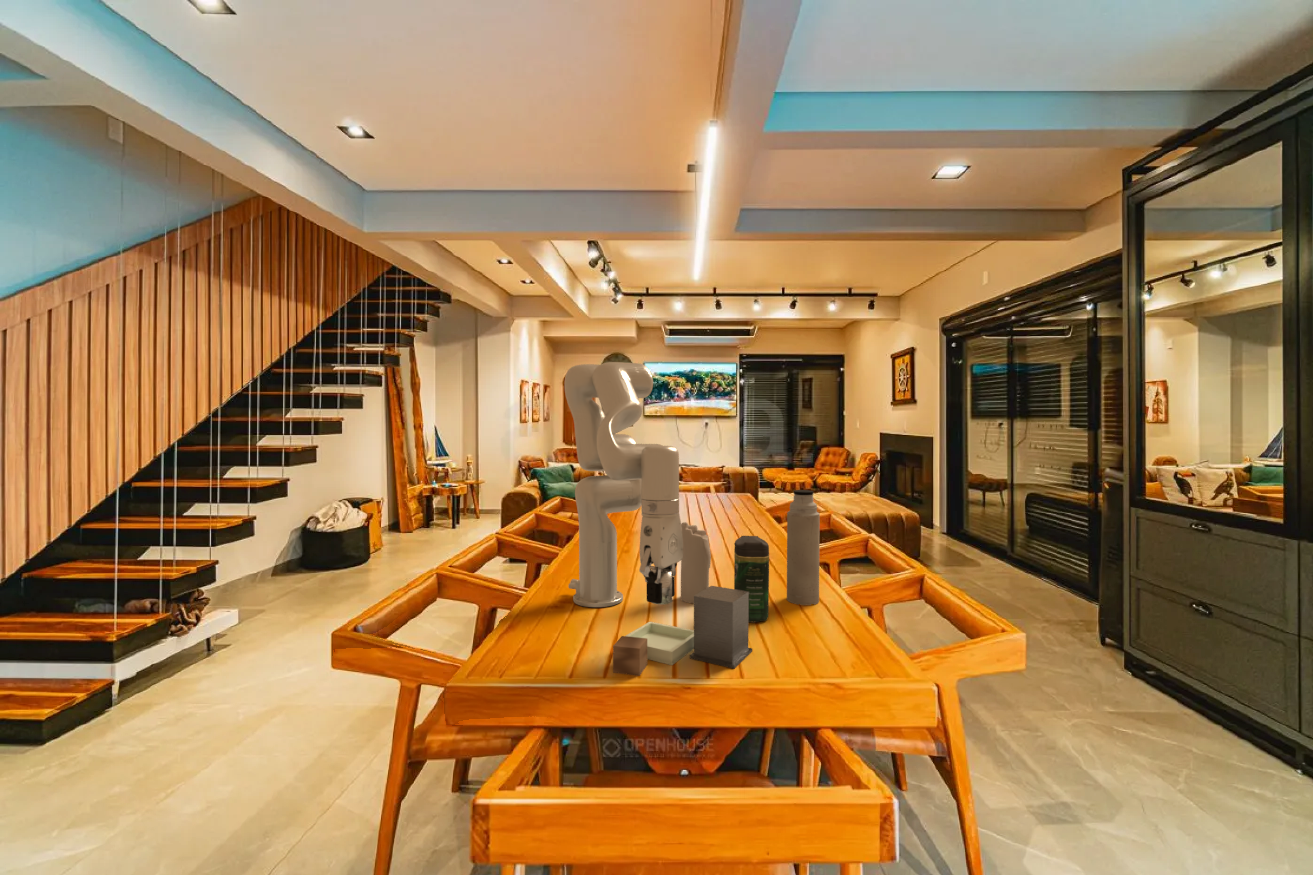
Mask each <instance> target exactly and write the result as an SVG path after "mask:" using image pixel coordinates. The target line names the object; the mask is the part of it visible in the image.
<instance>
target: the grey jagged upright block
mask: <svg viewBox="0 0 1313 875" xmlns="http://www.w3.org/2000/svg"><path fill="white" fill-rule="evenodd" d="M681 527H682V540H683V558H682V560H681V561H680V601H682V602H684V603H690V604H694V596H695V595H696V594H698V593H700V592H701V591H703V590H705V589H707V588H708V587H710V568H711V563H712V562H711V560H712V553H711V548H710V539H709V535H707V532H706V530H704V529H701V530H700V529H699V527H698V526H697V525H694V524H693V525H692V524H691V525H689V523H688V522H687V521H684V522H681Z"/></svg>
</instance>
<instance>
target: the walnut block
mask: <svg viewBox="0 0 1313 875" xmlns="http://www.w3.org/2000/svg"><path fill="white" fill-rule="evenodd" d="M612 654H613V655H612V665H613V667H612V670H613V671H612V673H613V674H622V675H630V676H639V677H640V676H641V675H642V673H643V672H644V670H646V668H647V666H648V659H647V638H638V637H628V636H626V635H621V636H620V638H619V639H617V641H616V642H615V643H614V644H613V646H612Z"/></svg>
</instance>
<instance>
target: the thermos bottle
mask: <svg viewBox="0 0 1313 875" xmlns="http://www.w3.org/2000/svg"><path fill="white" fill-rule="evenodd" d="M813 495H814V491H813V490H808V489H798V490H797V489H796V490H793V501H792V502H790V504H789V511H787V513H786V514H787V515H786V522H787V523H786V525H787V526H786V528H787V529H786V601H788V602H789V603H791V604H795V605H799V604H800V606H812V605H811V604H814V605H817V604H819V602H820V531H821V530H820V529H821V528H820V526H821V524H820V522H821V521H820V517H821V516H820V515H821V514H820V512H818V505H817V503H815V502H814V496H813Z"/></svg>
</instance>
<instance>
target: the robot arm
mask: <svg viewBox="0 0 1313 875" xmlns="http://www.w3.org/2000/svg"><path fill="white" fill-rule="evenodd" d="M653 387H654V379H653V374H652V372H651V370H650V369H649V368H648V366H647V365H645V364H643V363H639V362H638V363H637V362H622V361H609V362H608V361H607V362H604V363H601V364H594V363H585V364H576V365H574V366H571V367H570V368H569V369H568V370H567V371H566V373H565V378H564V393H565V398H566V402H567V405H568V407H569V410H570V414H571V416H572V418H573V424H574V434H575V436H574V438H575V445H576V455H577V462H578V464H579V466H580V468H581V469H582V470H584V471H588V472H605V474H606V475H593V476H592V475H591V476H587V477H583V478H582V479H580V480H579V481H577V483H576V485H575V490H574V497H575V504H576V508H577V517H578V547H579V548H578V550H579V551H578V554H579V556H578V567H579V568H578V570H579V572H578V575H579V576H578V578H579V579H575V578H572V579H571V580H570V581H569V582H570V583H568V588H569V589H570V590H571V589H572V590H575V593H574V595H573V596H572V597H573V598H572V600H573V603H574V604H576V605H578V606H579V607H580V606H581V607H586V608H606V607H612V606H615V605H618V604H620V603H621V602H623V600H624V594H623V593H622V592H621V591H619V590H618V543H617V542H618V540H617V539H618V537H617V536H618V532H617V528H616V526H615V524H614V523H613V522H612V521H611V519H610V518H609V516H608V514H613V513H622V512H623V513H624V512H632V511H633V512H634V511H637V510H639V509H640V510H641V522H640V523H641V524H640V536H639V561H640V566H639V572H640V574H642V575H643V578H644V581H645V583H646V601H647V603H651V604H653V603H657V604H656V605H661V604H660V603H662V583H660V576H661V569H670V570H672V598H674V596H675V594H676V592H675V584H676V583H675V580H676V578H675V576H676V573H677V572H676V568H677V566H678V563H679V562H681V560H682V558H683V540H682V527H681V524H682V521H681V520H682V519H681V516H680V454H679V450H678V449H677V447H675V446H672V445H662V444H659V443H637V442H636V440H635V438H634V437H632V436H631V435H629V434H625V433H620V432H621V431H624V430H626V429H628V428H630V427H632V426H633V425H635V424H636V423H637V422H638V421H639V420H640V418H641V417H642V414H643V407H642V404H641V401H640V400H639V399H645V398H647V397H648V396H650V395H651V393H652V391H653ZM593 398H594V399H595V398H596V399H597V398H598V400H599V402H600V405H601V406H600V405H599V404H598V403H597V402H596V401H595V400H594V399H593ZM652 569H653V570H656V573H655V574H654V572H653V571H651V570H652Z"/></svg>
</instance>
